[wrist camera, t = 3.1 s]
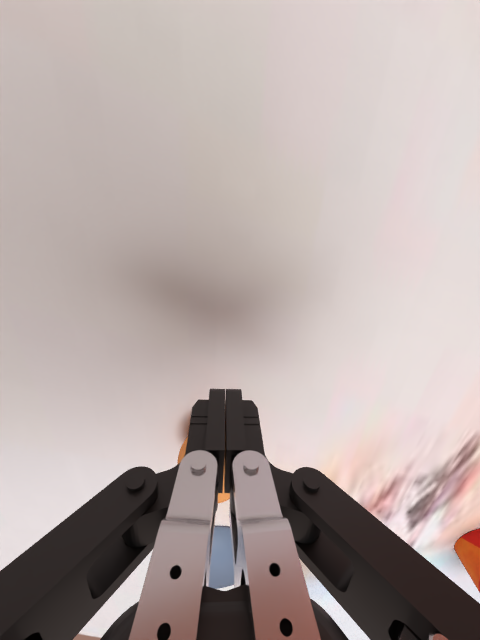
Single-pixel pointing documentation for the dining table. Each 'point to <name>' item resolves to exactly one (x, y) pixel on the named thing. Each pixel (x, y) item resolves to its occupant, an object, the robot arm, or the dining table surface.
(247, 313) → the dining table surface
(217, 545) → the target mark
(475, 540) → the paper cup
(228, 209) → the dining table surface
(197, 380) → the dining table surface
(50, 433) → the dining table surface
